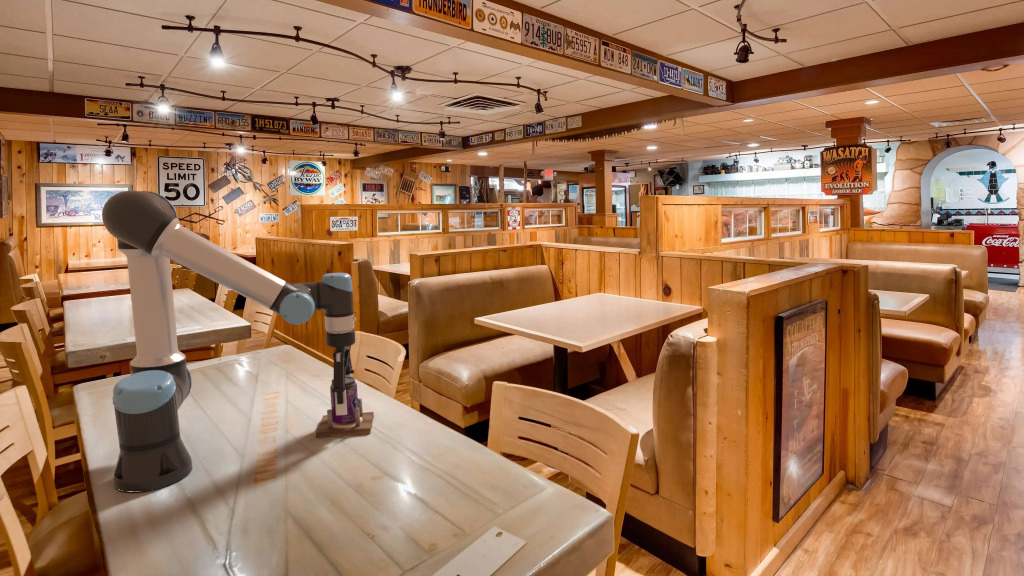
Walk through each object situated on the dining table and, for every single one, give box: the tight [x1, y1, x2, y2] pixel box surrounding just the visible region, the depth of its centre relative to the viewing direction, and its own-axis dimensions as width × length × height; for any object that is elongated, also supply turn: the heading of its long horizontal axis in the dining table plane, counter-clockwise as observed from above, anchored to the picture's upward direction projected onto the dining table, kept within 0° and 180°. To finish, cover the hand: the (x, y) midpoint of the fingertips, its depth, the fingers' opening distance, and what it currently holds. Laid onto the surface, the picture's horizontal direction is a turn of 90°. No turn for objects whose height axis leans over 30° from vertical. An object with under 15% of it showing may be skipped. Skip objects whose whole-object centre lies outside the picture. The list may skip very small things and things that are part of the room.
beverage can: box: [329, 376, 359, 425], centre depth 154 cm, size 7×7×12 cm
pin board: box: [315, 397, 375, 439], centre depth 155 cm, size 12×14×6 cm
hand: (344, 405), depth 154 cm, fingers open, 13 cm apart
